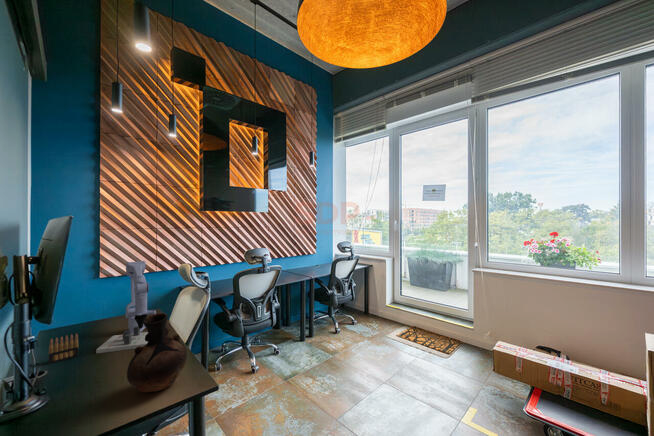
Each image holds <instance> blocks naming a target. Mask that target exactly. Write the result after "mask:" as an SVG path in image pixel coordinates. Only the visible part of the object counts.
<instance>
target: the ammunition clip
mask: <svg viewBox="0 0 654 436" xmlns="http://www.w3.org/2000/svg"><path fill="white" fill-rule="evenodd" d="M48 346H49V347H48V361H47V365H52V364H56V363H60V362H63V361H68V360H71V359H75V358H79V335H78V333H75V336H73V334H70V337H69V336H68V335H65V337H64V338H63V336H60V339H59V338H58V337H55V340H54V339H53V338H51V339H50V340H49V345H48Z"/></svg>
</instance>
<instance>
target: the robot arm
mask: <svg viewBox="0 0 654 436" xmlns="http://www.w3.org/2000/svg"><path fill="white" fill-rule="evenodd" d="M145 270H146V261H145V260H142V261H127V262H126V263H125V273H126V276H128V277H129V278H130V293H131V294H130V295H131V297H130V298H131V301H130V303H128V304H127V305H126V307H125V318H126V319H128V326H127V327H128V329H127V330H130V334H134V327H135V326H138V327H139V329H140V333H143V330H144V329H147V328H146V327H145V325H144V323H143V321H144V320H145V319H146V318H147V317H148V316H151V315H153V314H157V310H155V309H154V310H151V309H150V310H149V309H148V293H149V289H150V288H149V287H150V285H149V282H147V280H146V277H145V275H144V273H145Z"/></svg>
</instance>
